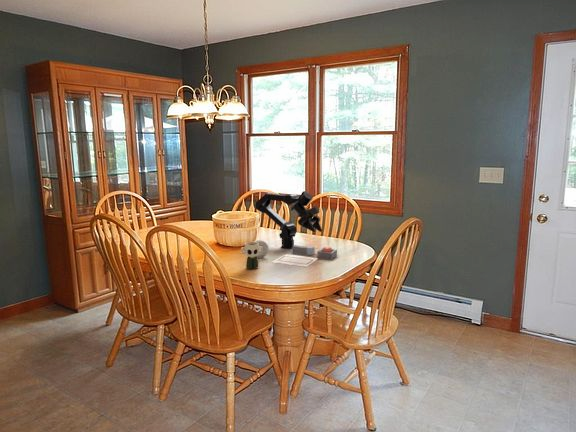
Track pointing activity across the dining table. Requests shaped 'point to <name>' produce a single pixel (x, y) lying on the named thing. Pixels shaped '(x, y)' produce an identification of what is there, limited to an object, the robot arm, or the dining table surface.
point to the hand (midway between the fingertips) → (318, 231)
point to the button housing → (326, 254)
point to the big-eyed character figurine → (252, 254)
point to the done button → (327, 249)
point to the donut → (265, 248)
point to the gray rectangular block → (304, 250)
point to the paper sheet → (295, 260)
